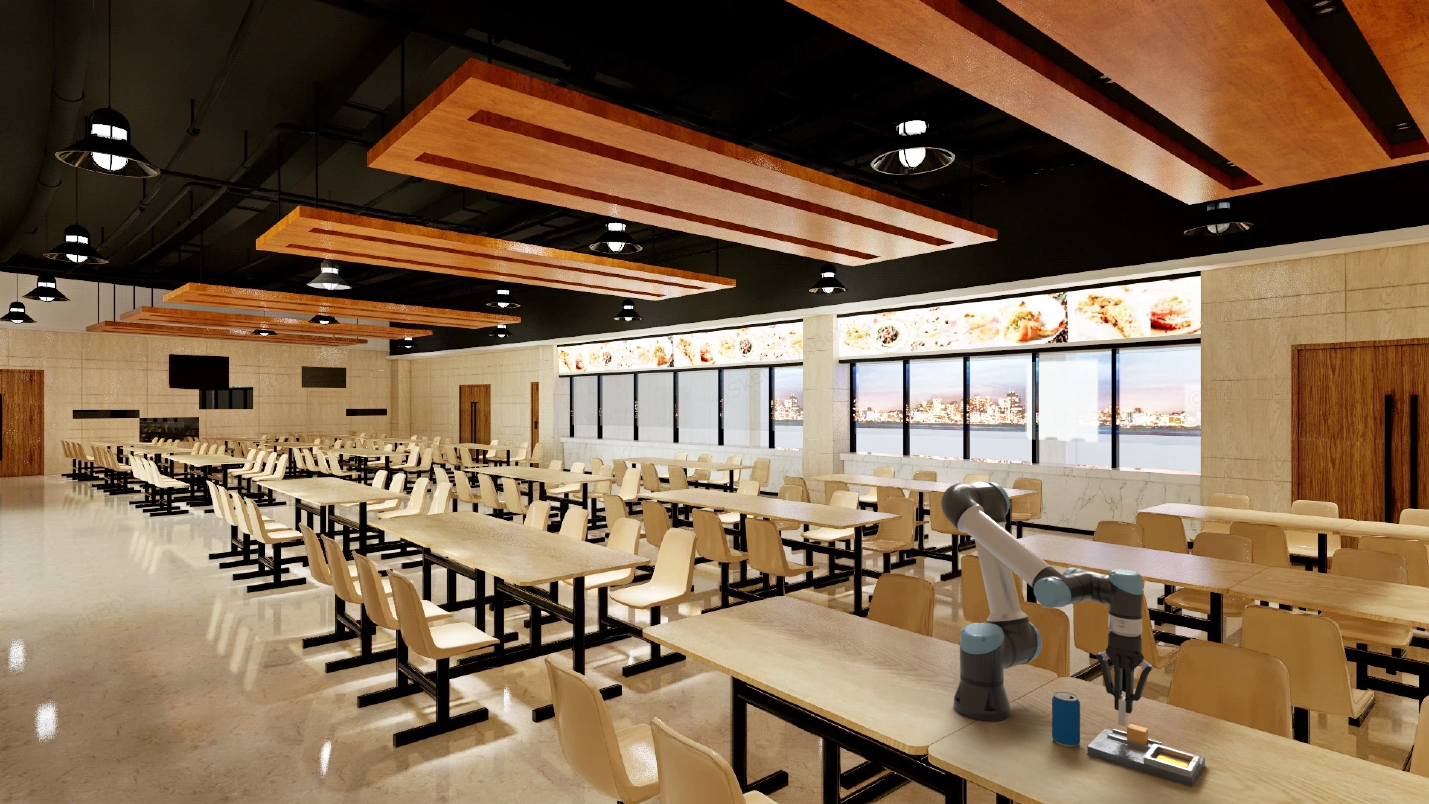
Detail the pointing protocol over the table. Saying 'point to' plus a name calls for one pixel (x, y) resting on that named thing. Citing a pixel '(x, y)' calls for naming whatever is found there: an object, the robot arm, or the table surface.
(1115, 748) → the panel
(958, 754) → the table surface
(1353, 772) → the table surface
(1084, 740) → the table surface
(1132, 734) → the block
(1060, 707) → the beverage can
